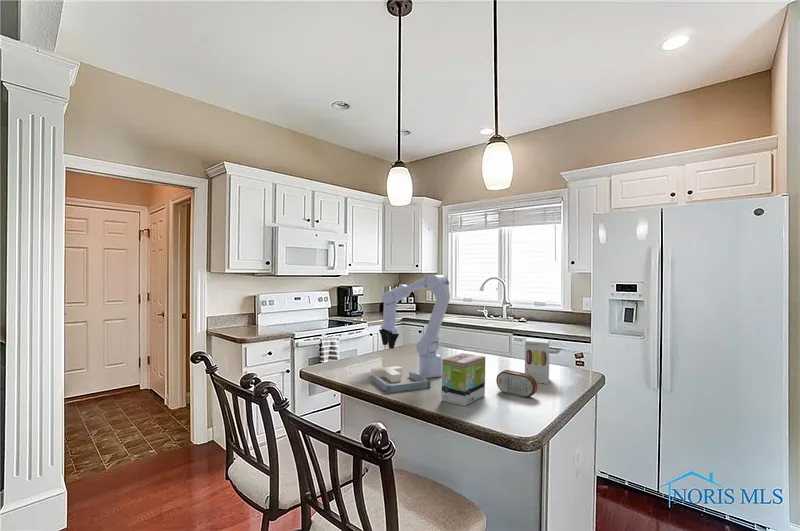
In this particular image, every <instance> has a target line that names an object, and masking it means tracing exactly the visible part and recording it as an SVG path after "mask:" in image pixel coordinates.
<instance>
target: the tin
mask: <svg viewBox="0 0 800 531" xmlns="http://www.w3.org/2000/svg"><path fill="white" fill-rule="evenodd" d="M496 385H497V387H498V389H499V390H500V391H501V392H502V393H504V394H508V395H512V396H517V397H521V398H530V397H532V396H534V395H535V394H536V393H537V391H538V383H536V381H535V379H534V378H533V377H532V376H531V375H529V374H526V373H525V372H521V371H520V372H519V371H514V370H511V369H504V370H502V371H501V372H500V373H498V374H497V376H496Z"/></svg>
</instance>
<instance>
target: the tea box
mask: <svg viewBox="0 0 800 531" xmlns="http://www.w3.org/2000/svg"><path fill="white" fill-rule="evenodd" d="M485 386H486V356H485V355H484V356H483V355H477V354H472V353H464V352H462V353H458V354H455V355H452V356H449V357H445V358H443V359H442V376H441V401H443V402H448V403H450V404H454V405H459V406H462V407H463V406H464V407H466V406H467V405H469V404H471V403H472V402H475V401H477V400H478V399H481V398H483V397H484V396H486V395H485V394H486V392H485V391H486V387H485Z"/></svg>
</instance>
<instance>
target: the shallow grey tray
mask: <svg viewBox="0 0 800 531" xmlns="http://www.w3.org/2000/svg"><path fill="white" fill-rule="evenodd" d="M416 373H417V372H415V371H412V370H409V371H408V378H410V379H411V380H413V381H411V382H402V383H395V384H388V382H386V381H384V380H383V379H382V378H381V377H377V376H376V375H372V376H371V377H372V378H371V380H372V383H373V384H375V385H377V386H378V387H379V388H380V387H381V388H380V389H382V390H383V391H384V390H385V391H384V392H386V393H387V394H390V393H391V392H392V393H399V392H406V390H408V391H413V390H414V391H416V390H421V389H430V388H431V380H430V379H428V378H424V377H422V376H420V375H418V374H416Z"/></svg>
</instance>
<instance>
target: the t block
mask: <svg viewBox="0 0 800 531" xmlns="http://www.w3.org/2000/svg"><path fill="white" fill-rule="evenodd" d="M372 375H376V376H377V377H379V378H385V377H386V378H387V379H386V378H385V379H386V380H388V381H389V380H390V381H389V382H391V383H399V382H398V381H400V382H402V376H403V367H401V366H399V365H395V366H387V367H385V366H384V367H376V368H371V369H370V377H372Z"/></svg>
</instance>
